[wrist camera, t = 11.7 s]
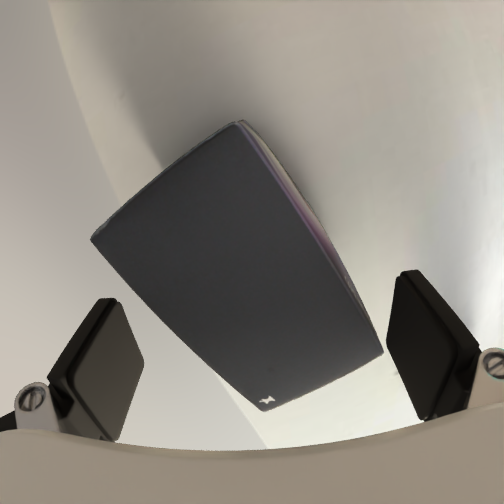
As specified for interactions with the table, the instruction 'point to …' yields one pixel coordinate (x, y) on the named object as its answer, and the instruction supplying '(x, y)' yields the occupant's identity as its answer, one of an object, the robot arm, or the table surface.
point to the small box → (242, 270)
